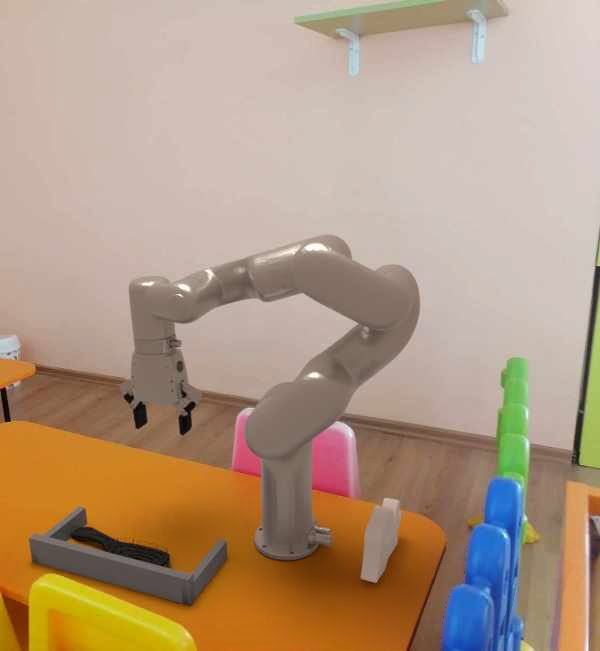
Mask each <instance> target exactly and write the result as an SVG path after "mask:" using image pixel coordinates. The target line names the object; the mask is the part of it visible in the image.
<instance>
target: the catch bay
mask: <svg viewBox="0 0 600 651" xmlns="http://www.w3.org/2000/svg"><path fill="white" fill-rule="evenodd" d="M85 524H86V525H87V524H88V518H87V508H86V507H83V506H78V507H77V508H76V509H74V510H73V511H72V512H70V513H69V514H67V515H66V516H65V517H64V518H63V519H61V520H60V521H59V522H58V523H56V524H55V525H53V526H52V527H51V528H50V529H49V530H48V531H46V532H45V533H43V534H40V533H39V534H38V533H33V534H32V535H31V536H29V537H28V543H29V549H30V557H31V562H32V563H34V564H35V563H36V564H39V565H42V566H46V567H49V568H53V569H57V570H60V571H64V572H69V573H71V574H75V575H79V576H82V577H86V578H90V579H92V580H96V581H100V582H104V583H107V584H111V585H113V586H118V587H122V588H125V589H129V590H131V591H136V592H139V593H143V594H147V595H150V596H154V597H157V598H161V599H165V600H168V601H172V602H175V603H180V604H182V605H186V606H191V605H192V604H193V603H194V601H195V600H196V599H197V598H198V596H200V594H201V592H202V591H203V590H204V588H205V587H206V586H207V585H208V583H209V582H210V581H211V579H212V578H213V577H215V576H214V575H215V574H216V573H217V572H218V571H219V569H220V568H221V567H222V565H223V564H224V562H225V561H226V560H227V559H228V541H227V540H225V539H221V538H219V539H218V540H217V541H216V543H215V544H214V545H213V546H212V547H211V549H210V550H209V551H208V553H206V555H205V556H204V558H202V560H201V561H200V562H199V563H198V565H197V566H196V567H195V568H194V569H193V571H192V572H191V573H189V572H185V571H181V570H177V569H173V568H171V567H165V566H164V567H162V566H158V565H155V564H151V563H147V562H143V561H140V560H135V559H131V558H128V557H124V556H120V555H116V554H112V553H108V552H106V551H104V550H100V549H96V548H92V547H89V546H85V545H81V544H76V543H72V542H69V541H68V540H69V539H70V538H72V537H71V533H72V532H73V531H76V529H77V528H79V527H85V526H86V525H85Z"/></svg>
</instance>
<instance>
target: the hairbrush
mask: <svg viewBox="0 0 600 651" xmlns="http://www.w3.org/2000/svg"><path fill="white" fill-rule="evenodd" d="M70 538H71V539H77V540H82V541H90V542H91V541H92V542H94V543H96V544H99V545H101V546H102V547H103V548H104V550H105V551H104V552H108V553H112V554H116V555H120V556H124V557H128V558H131V559H135V560H139V561H143V562H147V563H151V564H155V565H158V566H162V567H165V566H166V565H168V564H169V563H170V560H171V555H170V553H169V549H168V548H166V547H164V546H163V545H162V546H161V548H162V549H163V550H162V549H160V548H159V544H156V543H153V542H150V544H151V545H154V547H152V546H148V545H145V544H149V541H148V542H147V541H145V544H144V545H142V544H141V543H142V540H140V543H138V541H139V540H137V543H134V541H135V539H134V538H133V539H132V542H131V541H128V542H126V541H120V540H122V539H123V538H122V537H121V538H120V540H118V539H119V538H117V537H116V538H113V537H111V536H110V535H107V534H105V533H103V532H102V531H99V530H97V529H96V528H95V527H92V526H83V527H79V528H77V529H76V531H73V532H72V533H71V537H70ZM124 539H125V540H127V539H126V537H125V538H124ZM128 539H129V540H131V539H130V538H128ZM155 545H157V546H156V547H155ZM163 547H164V548H163Z"/></svg>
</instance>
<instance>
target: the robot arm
mask: <svg viewBox="0 0 600 651" xmlns="http://www.w3.org/2000/svg"><path fill="white" fill-rule="evenodd" d="M301 294H304V295H305V296H306V297H309V298H310V299H311V300H313V301H315V302H317V303H319V304H320V305H323V306H324V307H326V308H328V309H330V310H331V311H334V312H335V313H337V314H340V315H342V316H344V317H345V318H347V319H349V320H351V321H354V322H355V323H357V324H356V325H355V326H353V327H352V328H351V329H350V330H348V331H347V332H346V333H345V334H344V335H343V336H341V337H339V339H337V340H336V341H335V342H334V343H333V344H330V346H329V347H327V348H326V349H324V350H323V351H321V352H319V354H318V355H317V354H316V355H315V356H314V357H313V358H311V359H310V360H309V361H308V362H307V363H306V365H305V366H304V367H303V368H302V370H301V371H300V372H299V374H298V375H297V376H296V377H295V378H294V380H292V381H283V382H280V383H277V384H276V385H273V386H272V387H271V388H269V389H268V391H267V392H265V394H264V395H263V396H262V397H261V399H260V400H259V402H258V403H257V404H256V406H255V407H254V408H253V409H252V411H251V412H250V414H249V415H248V417H247V419H246V421H245V424H244V427H243V428H244V429H243V435H244V436H243V437H244V440H245V443H246V446H247V448H248V450H250V452H251V453H253V455H255V456H257V457H258V458H260V488H261V489H260V490H261V491H260V492H261V495H260V496H261V524H260V525H259V526H258V528H257V529H256V530H255V533H254V545H255V547H256V549H257V550H258V551H259V553H261V554H263V555H264V556H265V557H268V558H271V559H274V560H279V561H280V560H281V561H293V560H295V561H296V560H298V559H302V558H307V557H308V556H309V555H311V554H313V553H314V552H316V550H317V549H318V548H319V546H320V545H321V546H326V547H332V546H333V542H334V536H333V535H331V528H330V527H323V526H320V525H319V524H318V517H317V516H314V515H313V443H314V439H315V438H317V437H318V436H320V435H321V434H323V432H326V430H327V429H329V428H331V427H332V426H333V425H334V424H335V423H336V422H337V421H339V420H340V418H341V417H342V416H343V415H344V413H346V410H347V409H348V407H349V405H350V402H351V400H352V398H353V396H354V395H355V392H357V390H359V388H360V387H361V386H363V385H364V384H365V383H366V382H368V381H369V380H371V379H372V378H373V377H375V376H376V375H377V374H378V373H379V372H380V371H381V370H383V369H384V368H385V367H387V366H388V365H389V364H390V363H392V362H393V361H394V360H395V358H397V357H398V356H399V355H400V354H401V352H402V351H403V350H404V349H405V348H406V346H407V345H408V343H409V342H410V340H411V338H412V336H413V335H414V333H415V330H416V328H417V325H418V321H419V317H420V313H421V312H420V311H421V299H420V298H421V297H420V290H419V286H418V282H417V280H416V278H415V277H414V275H413V273H412V272H411V271H410V270H409V269H408V268H406V267H404V266H402V265H400V264H394V263H391V264H386V265H383V266H382V265H381V266H380V267H377V268H376V269H374V270H373V269H372V268H370V267H368V266H365V265H364V264H361V263H359V262H357V261H356V260H354V259H353V256H352V252H351V249H350V247H349V245H348V244H347V243H346V241H345V240H344V239H342V238H341V237H339V236H338V235H333V234H320V235H317V236H313V237H309V238H307V239H304V240H300V241H296V242H293V243H290V244H285V245H282V246H279V247H276V248H273V249H269V250H266V251H261V252H258V253H255V254H254V253H253V254H250V255H248V256H246V257H244V258H241V259H237V260H233V261H229V262H226V263H221V264H219V265H216V266H211V267H209V268H203V269H202V270H199V271H196V272H194V273H193V272H192V273H190V274H189V275H187V276H185V277H183V278H181V279H178V280H176V281H172V282H171V281H170V280H169V279H168V278H167V277H165V276H159V275H148V276H147V275H146V276H140V277H137V278H134V279H132V280H131V281H130V283H129V284H128V299H129V307H130V317H131V325H132V336H133V345H134V350H133V351H132V355H131V363H130V378H129V379H127V380H126V381H124V382H122V383H120V384H119V385H118V388H119V391H120V392H121V394H122V395H123V398H124V400H125V401H126V402H127V403H128V404H129V408H130V410H132V413H133V422H134V426H135V429H137V430H139V429H141V428H143V427H144V426H145V425H147V424H148V414H147V405H146V403H147V404H148V403H149V404H156V405H163V406H174V407H175V409H176V410H177V411H178V412H179V414H180V415H178V418H177V419H178V426H179V427H178V429H179V435H180V436H185V435H186V434H187V433H189V431H191V430H192V427H193V420H192V411H193V410H194V409H195V408H197V406H198V405H199V402H200V400H201V398H202V396H203V392H202V391H201V390H199V389H198V388H197V387H194V386H193V385H191V384H190V383H189V378H188V377H189V376H188V371H187V365H186V362H185V358H184V356H183V353H182V350H181V348H180V347H182V344H183V343H182V340H181V339H178V338H177V334H176V325H175V324H182V325H187V324H191V323H194V322H197V320H199V319H200V318H202V317H203V316H205V315H206V314H208V313H209V312H210V311H212V310H214V309H217V308H219V307H222V306H225V305H229V304H232V303H237V302H240V301H245V300H251V299H254V300H255V299H256V300H259V301H261V302H263V303H272V302H276V301H280V300H282V299H286V298H289V297H294V296H297V295H301ZM189 396H190V397H191V398H190V400H189V399H188V397H189Z"/></svg>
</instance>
